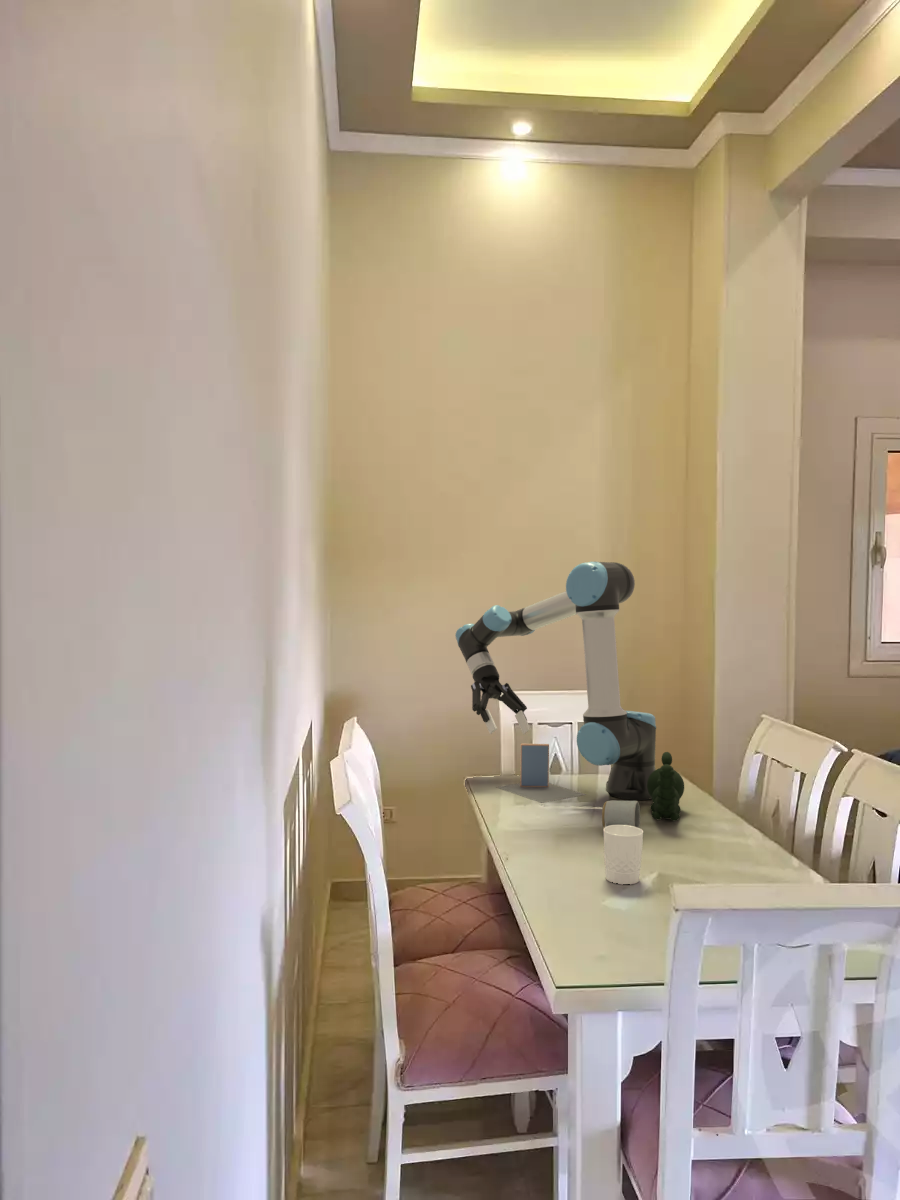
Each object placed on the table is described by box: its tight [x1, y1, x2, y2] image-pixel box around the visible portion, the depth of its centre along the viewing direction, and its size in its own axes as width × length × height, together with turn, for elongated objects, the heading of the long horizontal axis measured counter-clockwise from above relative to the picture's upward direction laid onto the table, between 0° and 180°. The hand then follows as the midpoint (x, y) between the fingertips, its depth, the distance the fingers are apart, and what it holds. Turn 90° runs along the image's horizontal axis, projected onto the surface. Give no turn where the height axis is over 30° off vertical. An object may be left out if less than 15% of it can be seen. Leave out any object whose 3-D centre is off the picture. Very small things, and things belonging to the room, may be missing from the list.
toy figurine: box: [647, 751, 685, 822], centre depth 228 cm, size 9×19×25 cm
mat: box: [495, 782, 587, 804], centre depth 249 cm, size 20×16×1 cm
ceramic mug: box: [601, 799, 641, 829], centre depth 212 cm, size 11×8×8 cm
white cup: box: [603, 825, 644, 885], centre depth 181 cm, size 8×8×10 cm
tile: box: [519, 743, 550, 787], centre depth 254 cm, size 2×8×12 cm, turn 88°
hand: (510, 731), depth 256 cm, fingers open, 13 cm apart
